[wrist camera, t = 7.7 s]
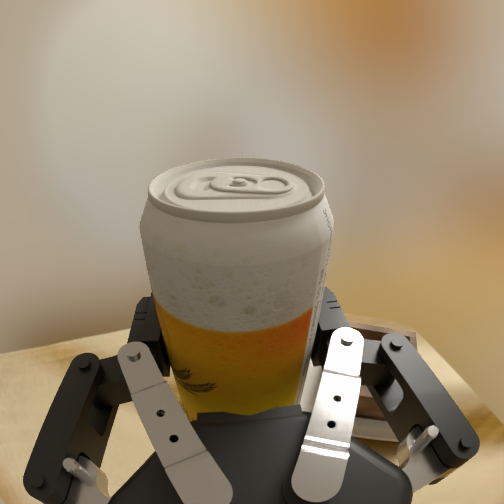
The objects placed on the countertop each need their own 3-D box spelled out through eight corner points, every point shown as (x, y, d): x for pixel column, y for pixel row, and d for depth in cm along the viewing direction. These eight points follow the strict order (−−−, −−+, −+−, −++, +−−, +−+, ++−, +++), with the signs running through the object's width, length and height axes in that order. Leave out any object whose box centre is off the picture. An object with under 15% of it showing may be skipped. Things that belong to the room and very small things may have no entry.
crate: (312, 412, 28) (320, 388, 25) (328, 346, 35) (335, 319, 33) (401, 426, 25) (419, 403, 23) (402, 358, 33) (415, 332, 30)
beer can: (204, 383, 20) (174, 155, 12) (294, 392, 19) (326, 159, 11) (183, 461, 15) (94, 215, 7) (289, 473, 14) (356, 228, 6)
